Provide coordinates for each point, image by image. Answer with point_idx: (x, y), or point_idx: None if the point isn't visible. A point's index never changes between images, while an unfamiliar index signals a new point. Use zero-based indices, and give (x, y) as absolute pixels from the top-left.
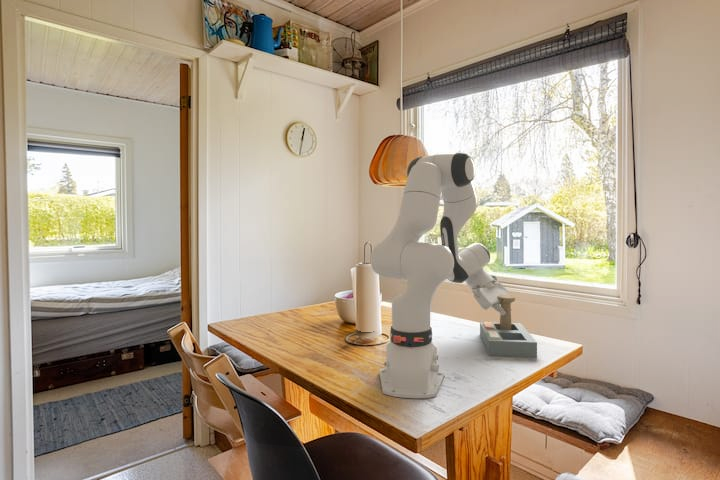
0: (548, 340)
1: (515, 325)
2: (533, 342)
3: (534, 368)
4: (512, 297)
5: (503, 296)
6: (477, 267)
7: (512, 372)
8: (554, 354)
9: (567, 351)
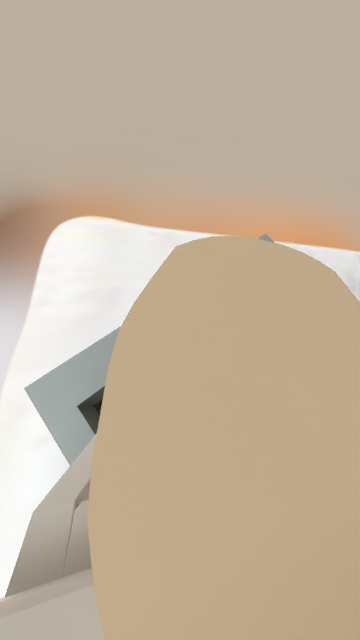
0: (54, 289)
1: (103, 383)
2: (272, 241)
3: (302, 249)
4: (236, 268)
5: (316, 485)
6: None
7: (355, 271)
8: (186, 242)
9: (137, 226)
